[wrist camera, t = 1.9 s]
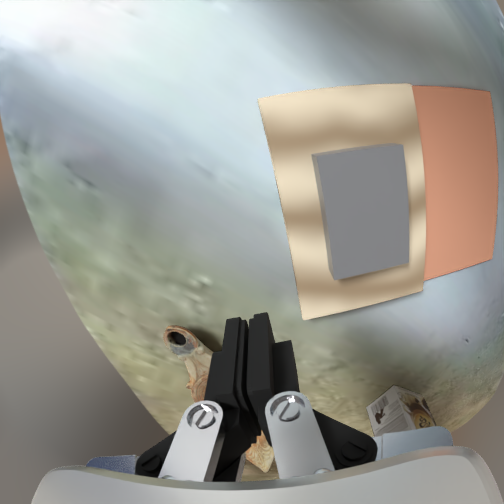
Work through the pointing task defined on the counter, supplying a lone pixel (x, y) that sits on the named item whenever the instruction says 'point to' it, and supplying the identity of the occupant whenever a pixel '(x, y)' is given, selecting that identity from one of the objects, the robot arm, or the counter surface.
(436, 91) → the mat
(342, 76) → the counter surface
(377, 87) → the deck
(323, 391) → the counter surface
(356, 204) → the tile
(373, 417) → the coffee box
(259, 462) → the oil lamp
